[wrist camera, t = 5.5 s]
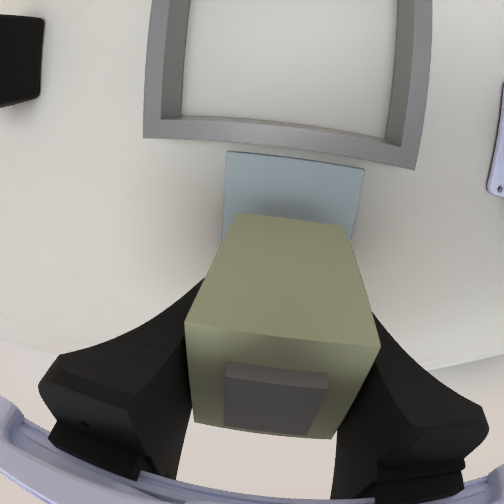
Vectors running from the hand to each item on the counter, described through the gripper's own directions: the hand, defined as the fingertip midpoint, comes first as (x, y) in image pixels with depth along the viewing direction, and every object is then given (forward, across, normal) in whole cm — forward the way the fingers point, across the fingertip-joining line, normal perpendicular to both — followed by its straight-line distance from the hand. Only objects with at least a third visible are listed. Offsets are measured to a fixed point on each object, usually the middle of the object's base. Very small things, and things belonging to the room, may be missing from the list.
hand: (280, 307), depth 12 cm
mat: (+9, 0, 0) cm, 9 cm away
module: (+3, 0, 0) cm, 3 cm away
